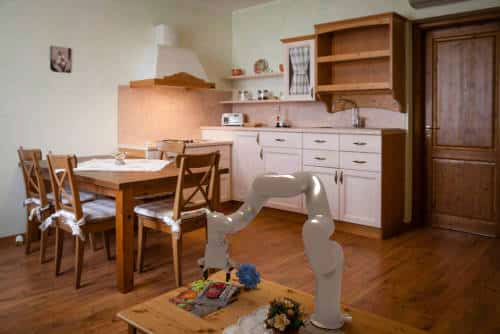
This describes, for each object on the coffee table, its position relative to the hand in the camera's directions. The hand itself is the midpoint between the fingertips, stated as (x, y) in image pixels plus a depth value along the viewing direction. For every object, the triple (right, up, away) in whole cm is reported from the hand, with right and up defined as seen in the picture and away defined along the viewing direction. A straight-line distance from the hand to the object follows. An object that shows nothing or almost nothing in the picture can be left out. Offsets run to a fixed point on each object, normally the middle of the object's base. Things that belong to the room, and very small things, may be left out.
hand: (216, 280), depth 188 cm
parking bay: (-1, -7, +1) cm, 7 cm away
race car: (0, -6, +1) cm, 6 cm away
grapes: (+13, -6, +8) cm, 17 cm away
